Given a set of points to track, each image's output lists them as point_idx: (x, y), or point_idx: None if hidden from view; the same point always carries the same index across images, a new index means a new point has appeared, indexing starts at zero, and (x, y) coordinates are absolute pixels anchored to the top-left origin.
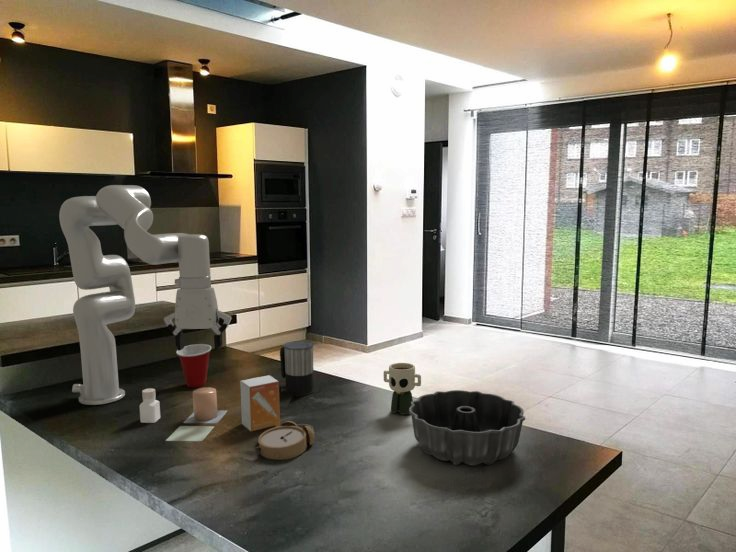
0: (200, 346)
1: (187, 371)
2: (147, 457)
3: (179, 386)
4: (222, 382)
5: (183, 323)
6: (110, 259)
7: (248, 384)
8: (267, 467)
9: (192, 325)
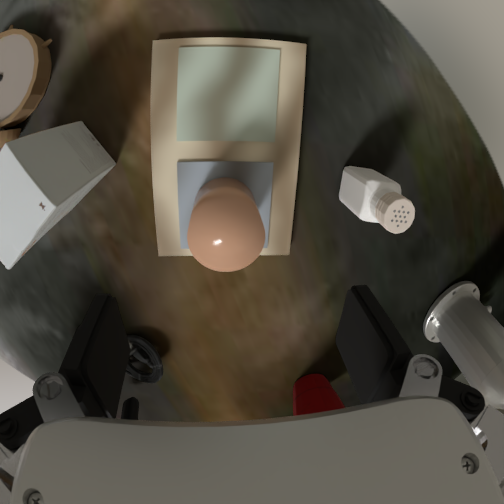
0: None
1: (330, 395)
2: (298, 3)
3: (339, 373)
4: (263, 395)
5: (403, 447)
6: None
7: (14, 164)
8: (31, 2)
9: (281, 450)
